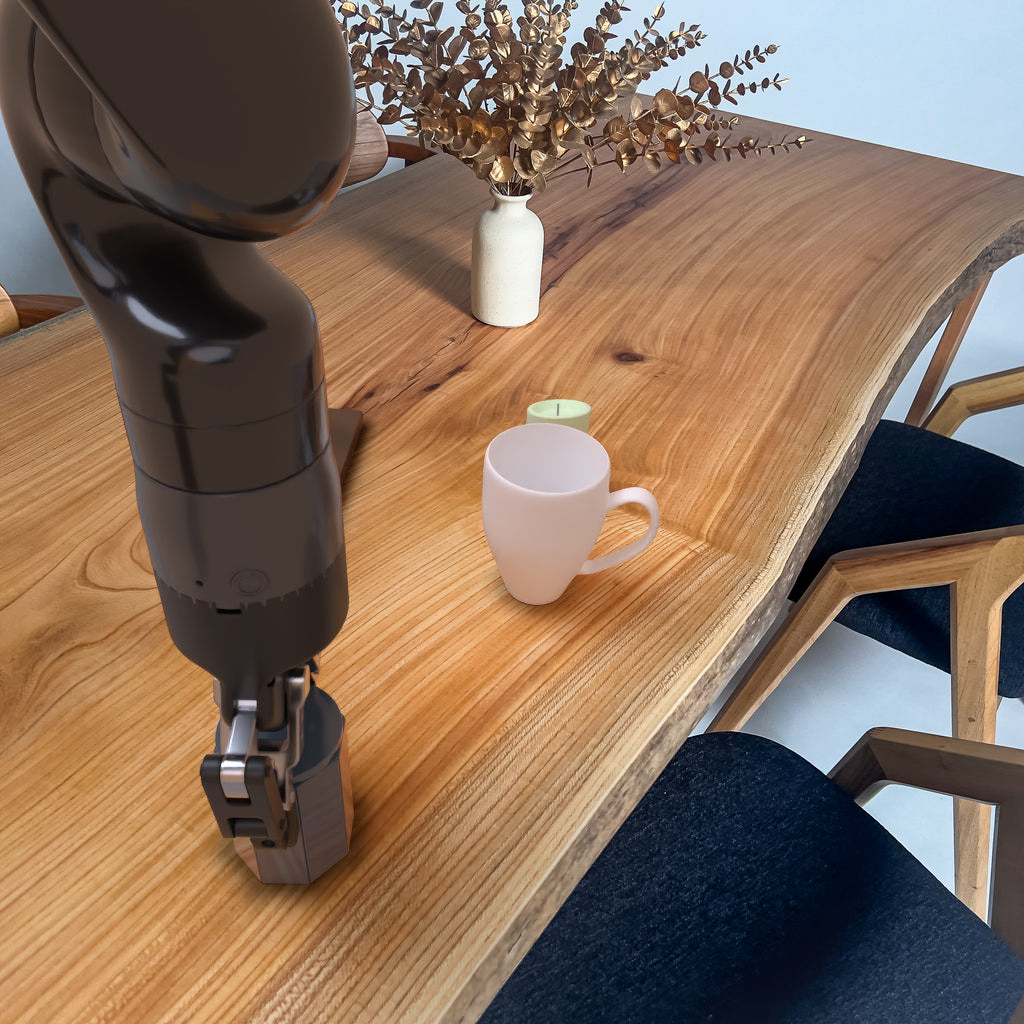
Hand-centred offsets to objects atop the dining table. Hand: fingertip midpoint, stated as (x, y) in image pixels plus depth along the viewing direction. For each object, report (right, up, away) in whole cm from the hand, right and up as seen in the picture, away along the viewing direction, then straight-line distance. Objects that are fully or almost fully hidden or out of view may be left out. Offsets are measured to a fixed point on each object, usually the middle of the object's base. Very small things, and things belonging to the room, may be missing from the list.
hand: (288, 781), depth 46 cm
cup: (0, -4, +3) cm, 5 cm away
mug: (+15, +8, +19) cm, 26 cm away
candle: (+15, +16, +29) cm, 36 cm away
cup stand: (-6, +15, +26) cm, 31 cm away
